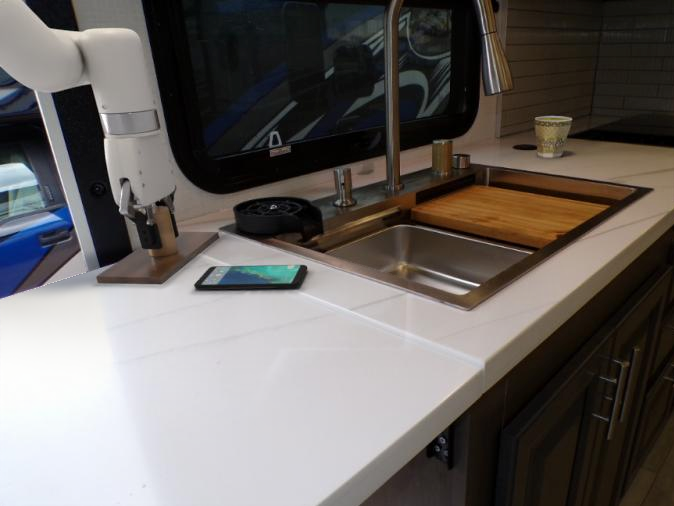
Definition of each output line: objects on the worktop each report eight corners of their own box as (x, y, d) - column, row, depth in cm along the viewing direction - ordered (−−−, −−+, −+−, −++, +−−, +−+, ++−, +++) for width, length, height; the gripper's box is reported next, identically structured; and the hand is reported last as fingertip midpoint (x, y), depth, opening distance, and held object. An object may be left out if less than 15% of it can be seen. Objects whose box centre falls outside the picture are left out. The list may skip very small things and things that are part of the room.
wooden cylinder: (143, 256, 83) (132, 214, 80) (157, 246, 87) (147, 205, 84) (169, 257, 82) (159, 214, 79) (183, 247, 86) (173, 205, 83)
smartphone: (210, 265, 79) (308, 264, 78) (210, 270, 79) (308, 268, 79) (191, 285, 73) (298, 283, 72) (192, 290, 73) (298, 288, 72)
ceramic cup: (565, 159, 143) (569, 121, 138) (528, 157, 146) (531, 120, 142) (571, 151, 153) (575, 115, 149) (537, 149, 157) (540, 114, 152)
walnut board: (97, 282, 77) (95, 276, 76) (166, 236, 94) (165, 231, 94) (161, 284, 76) (160, 277, 75) (219, 237, 93) (218, 231, 93)
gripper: (139, 116, 84) (165, 225, 92) (68, 134, 69) (107, 262, 77) (183, 115, 83) (206, 226, 91) (121, 133, 68) (155, 263, 76)
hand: (160, 241), depth 84 cm, fingers closed on wooden cylinder, 4 cm apart
